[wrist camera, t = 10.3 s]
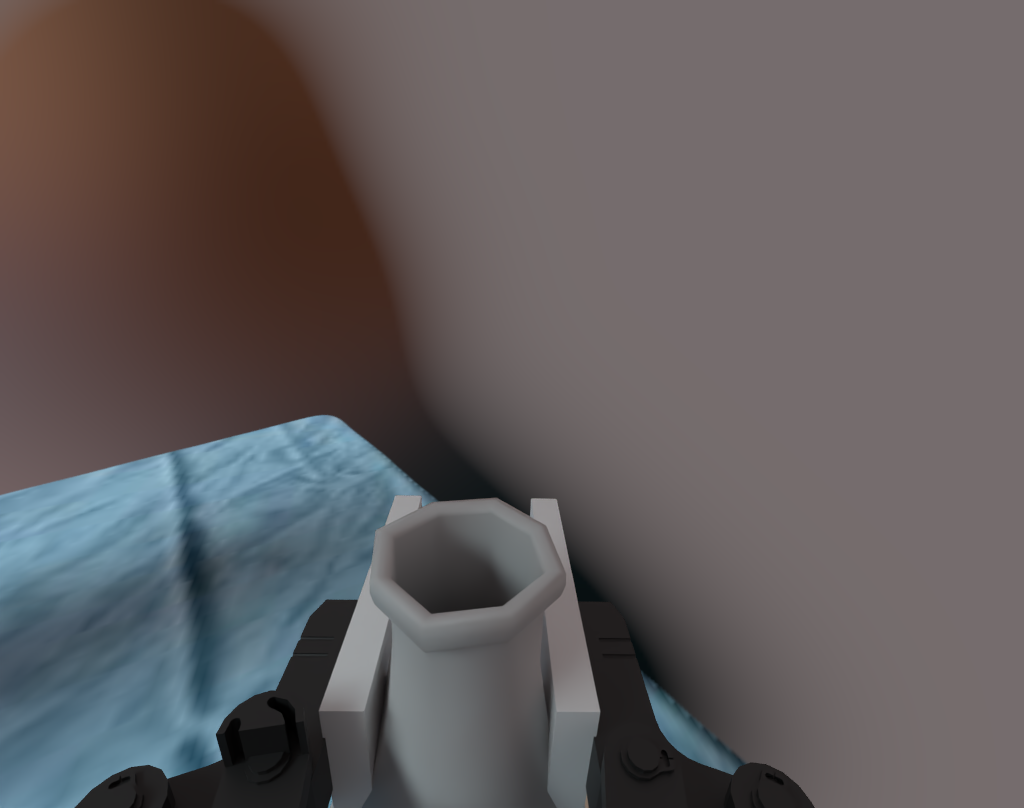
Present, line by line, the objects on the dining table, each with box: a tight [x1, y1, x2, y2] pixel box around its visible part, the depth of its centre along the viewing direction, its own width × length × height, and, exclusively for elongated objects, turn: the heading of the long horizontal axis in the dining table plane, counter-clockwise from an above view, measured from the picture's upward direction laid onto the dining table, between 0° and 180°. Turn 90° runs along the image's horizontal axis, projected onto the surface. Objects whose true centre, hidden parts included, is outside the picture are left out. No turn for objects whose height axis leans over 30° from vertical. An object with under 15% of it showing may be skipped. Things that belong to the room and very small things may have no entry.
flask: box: [330, 498, 585, 808], centre depth 10 cm, size 7×7×10 cm
